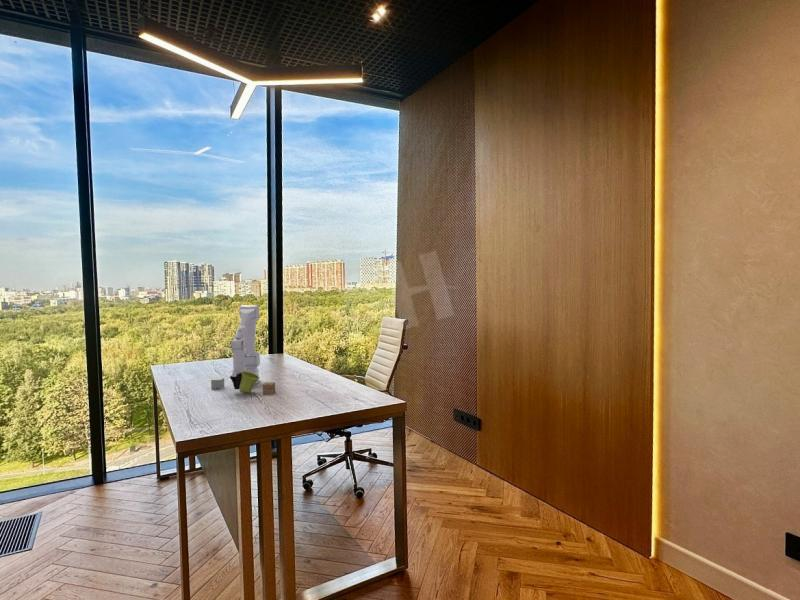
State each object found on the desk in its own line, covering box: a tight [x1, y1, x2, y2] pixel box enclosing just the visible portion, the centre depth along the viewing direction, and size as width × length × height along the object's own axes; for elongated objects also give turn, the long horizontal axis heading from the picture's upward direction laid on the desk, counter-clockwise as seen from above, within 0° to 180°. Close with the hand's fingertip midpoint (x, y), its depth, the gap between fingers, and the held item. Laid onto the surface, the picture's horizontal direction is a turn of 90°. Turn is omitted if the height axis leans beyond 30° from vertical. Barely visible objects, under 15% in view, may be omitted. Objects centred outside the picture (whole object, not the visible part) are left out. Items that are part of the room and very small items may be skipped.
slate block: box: [210, 377, 225, 390], centre depth 246 cm, size 5×5×5 cm
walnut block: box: [262, 381, 276, 394], centre depth 235 cm, size 5×5×5 cm
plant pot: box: [238, 371, 260, 394], centre depth 235 cm, size 9×9×9 cm
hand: (239, 387), depth 238 cm, fingers open, 7 cm apart
